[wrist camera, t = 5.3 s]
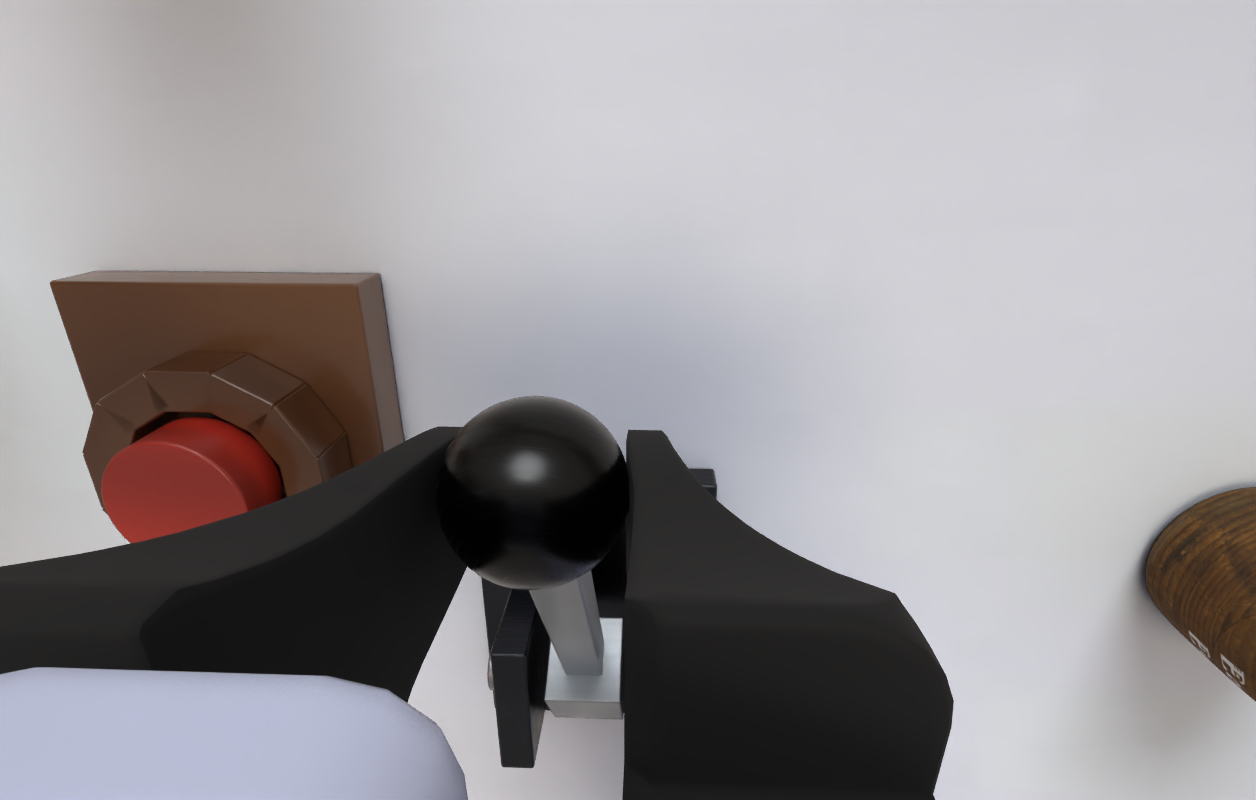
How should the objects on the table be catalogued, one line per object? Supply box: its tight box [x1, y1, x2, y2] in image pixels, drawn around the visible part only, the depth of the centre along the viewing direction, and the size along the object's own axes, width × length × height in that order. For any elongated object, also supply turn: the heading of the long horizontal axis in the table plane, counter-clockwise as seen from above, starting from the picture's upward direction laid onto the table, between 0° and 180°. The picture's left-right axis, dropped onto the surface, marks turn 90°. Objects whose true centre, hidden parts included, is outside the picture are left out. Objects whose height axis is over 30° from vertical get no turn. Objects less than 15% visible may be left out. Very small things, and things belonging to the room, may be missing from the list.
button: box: [101, 417, 282, 543], centre depth 18 cm, size 4×4×2 cm
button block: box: [50, 271, 404, 515], centre depth 20 cm, size 11×9×4 cm
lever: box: [436, 396, 629, 719], centre depth 15 cm, size 15×3×3 cm
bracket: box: [481, 469, 717, 768], centre depth 21 cm, size 10×8×6 cm
